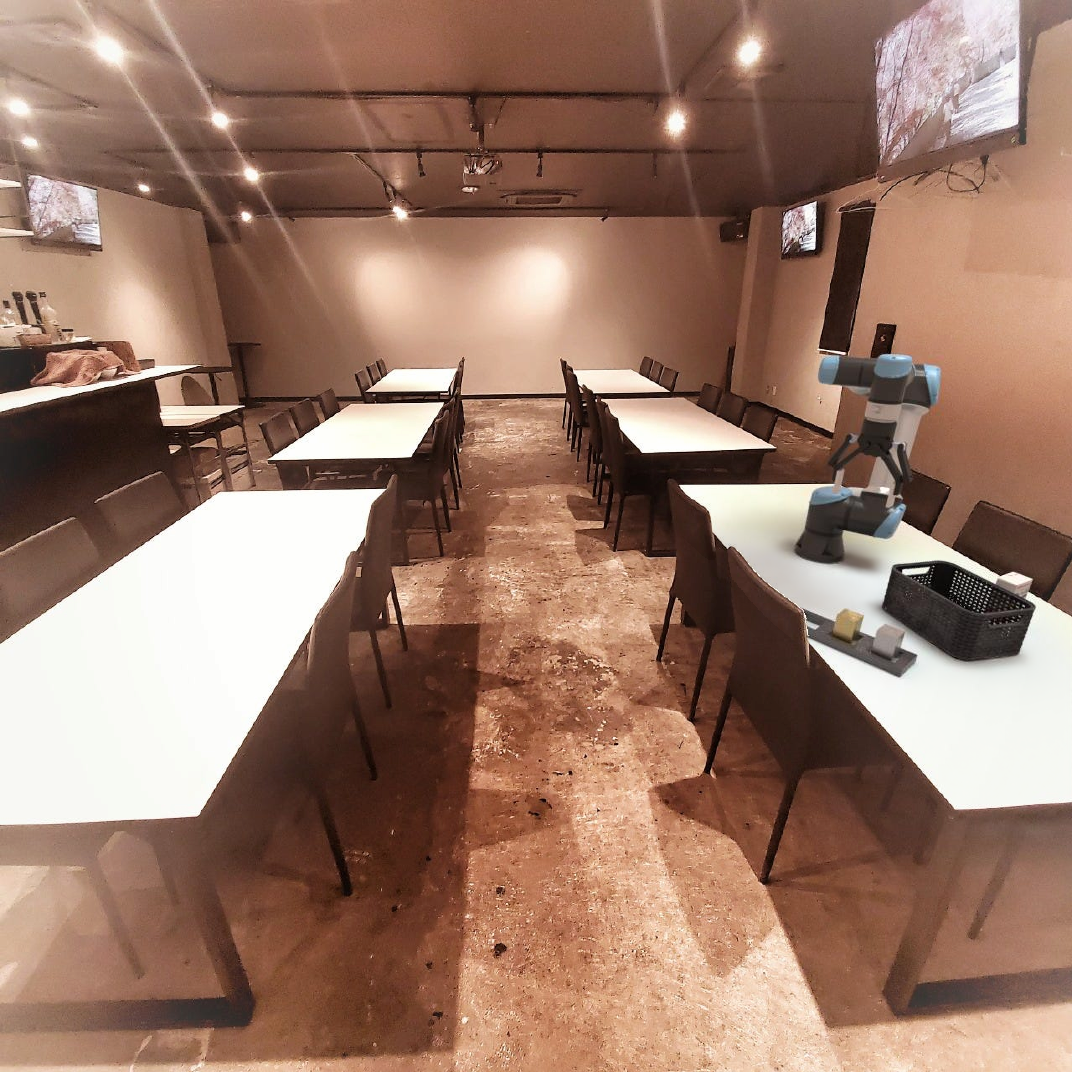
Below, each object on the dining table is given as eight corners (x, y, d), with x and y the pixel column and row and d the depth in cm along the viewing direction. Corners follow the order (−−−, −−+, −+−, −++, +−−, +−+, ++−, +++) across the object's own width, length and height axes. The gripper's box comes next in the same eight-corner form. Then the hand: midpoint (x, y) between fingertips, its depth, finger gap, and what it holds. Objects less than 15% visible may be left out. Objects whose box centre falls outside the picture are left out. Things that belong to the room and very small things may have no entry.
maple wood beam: (830, 641, 150) (837, 614, 147) (838, 635, 153) (845, 608, 150) (848, 649, 147) (855, 621, 144) (856, 642, 150) (863, 615, 147)
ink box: (1002, 623, 158) (1017, 585, 154) (983, 615, 162) (996, 577, 158) (1020, 616, 162) (1034, 578, 158) (1000, 608, 166) (1013, 571, 162)
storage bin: (875, 605, 168) (886, 563, 162) (934, 599, 171) (946, 558, 166) (959, 663, 142) (975, 615, 136) (1026, 655, 145) (1044, 608, 140)
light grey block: (869, 658, 143) (876, 630, 140) (877, 651, 146) (884, 623, 143) (889, 666, 140) (897, 638, 137) (897, 659, 143) (905, 631, 140)
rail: (779, 624, 158) (780, 617, 157) (796, 612, 163) (798, 606, 162) (900, 676, 136) (902, 669, 136) (915, 661, 142) (917, 654, 141)
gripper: (824, 413, 153) (809, 490, 162) (930, 430, 136) (907, 515, 144) (837, 409, 158) (822, 485, 166) (942, 425, 140) (919, 509, 149)
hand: (861, 499), depth 155 cm, fingers open, 13 cm apart
